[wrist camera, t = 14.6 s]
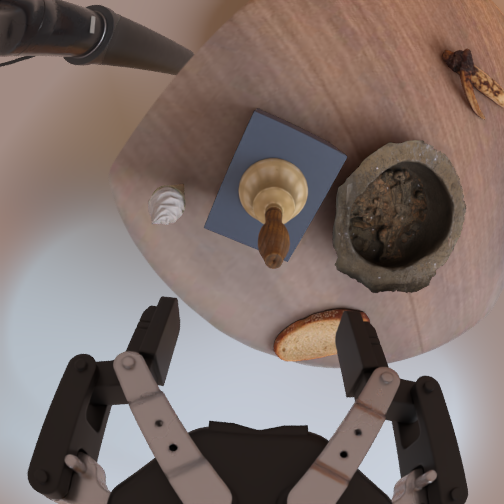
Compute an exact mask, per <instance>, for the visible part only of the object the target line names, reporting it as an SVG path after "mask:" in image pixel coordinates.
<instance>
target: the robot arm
mask: <svg viewBox="0 0 504 504" xmlns="http://www.w3.org/2000/svg"><path fill="white" fill-rule="evenodd" d="M106 33H107V20H106V18H105V16H104V15H103V14H102V13H100V12H98V11H94V10H90V9H88V8H85V7H82V6H78V5H75V4H72V3H69V2H65V1H62V0H0V57H9V56H24V57H21V58H18V59H15V60H12V61H9V62H5V63H1V64H0V67H1V66H5V65H9V64H13V63H16V62H19V61H22V60H25V59H29V58H32V57H35V56H59V57H72V58H84V57H87V56H89V55H91V54H92V53H93V52H95V51H96V50H97V49H98V48H99V46H100V45H101V44H102V42H103V40H104V38H105V36H106ZM179 330H180V317H179V308H178V300H177V298H172V297H161V298H160V300H159V303H158V305H157V306H149V307H148V309H146V310H145V311H144V312H143V314H142V316H141V318H140V322H139V323H138V325H137V328H136V329H135V332H134V334H133V336H132V338H131V341H130V343H129V345H128V348H127V350H126V352H123V353H121V354H119V355H118V356H117V357H116V358H115V360H112V361H101V362H96V361H95V360H94V358H93V357H91V356H90V355H88V354H79V355H76V356H75V357H74V358H72V359H71V360H70V362H69V363H68V365H67V368H66V370H65V372H64V374H63V377H62V379H61V381H60V384H59V386H58V389H57V391H56V393H55V395H54V398H53V400H52V403H51V405H50V408H49V410H48V413H47V416H46V418H45V421H44V424H43V426H42V429H41V432H40V435H39V438H38V441H37V443H36V447H35V450H34V453H33V456H32V459H31V462H30V466H29V469H28V480H29V483H30V485H31V486H32V488H33V489H34V490H36V491H37V492H39V493H41V494H43V495H44V496H46V497H47V498H49V499H50V500H52V501H54V502H56V503H58V504H464V503H465V502H466V499H467V497H468V488H467V483H466V478H465V473H464V469H463V464H462V460H461V456H460V451H459V447H458V443H457V440H456V436H455V432H454V429H453V425H452V422H451V419H450V415H449V412H448V409H447V406H446V403H445V399H444V396H443V393H442V390H441V388H440V385H439V383H438V382H437V381H436V380H435V379H434V378H432V377H429V376H422V377H420V378H419V379H418V380H417V381H416V382H413V381H408V380H403V379H400V378H399V376H398V374H397V373H396V372H395V371H394V370H392V369H391V368H389V367H388V364H387V361H386V358H385V355H384V353H383V350H382V347H381V345H380V341H379V339H378V336H377V333H376V331H375V328H374V327H373V326H372V325H371V324H370V323H369V322H368V321H363V318H362V315H361V313H360V311H344V312H343V314H342V317H341V320H340V323H339V326H338V329H337V332H336V336H335V344H336V349H337V354H338V358H339V363H340V368H341V372H342V376H343V382H344V387H345V392H346V397H354V398H355V403H354V404H353V406H352V408H351V409H350V411H349V412H348V414H347V415H346V417H345V418H344V420H343V421H342V423H341V425H340V426H339V427H338V429H337V430H336V432H335V433H334V434H333V436H332V437H331V439H330V440H329V441H328V440H327V439H325V438H324V437H322V436H320V435H317V434H315V433H312V432H308V426H307V425H305V426H280V427H275V428H269V429H264V430H256V429H252V428H248V427H245V426H242V425H238V424H235V423H226V422H216V421H209V427H203V428H198V429H195V430H193V431H190V432H187V431H186V429H185V428H184V426H183V425H182V423H181V422H180V420H179V418H178V416H177V415H176V414H175V411H174V410H173V408H172V407H171V405H170V403H169V401H168V400H167V398H166V396H165V394H164V393H163V392H162V391H160V389H159V387H158V385H161V386H164V383H165V380H166V376H167V373H168V369H169V365H170V362H171V359H172V355H173V351H174V348H175V345H176V341H177V338H178V335H179ZM119 404H129V406H130V409H131V411H132V413H133V415H134V417H135V419H136V421H137V423H138V425H139V427H140V430H141V431H142V433H143V435H144V437H145V439H146V441H147V443H148V445H149V447H150V449H151V450H152V452H153V454H154V456H155V458H154V459H153V460H152V461H150V462H149V463H148V464H146V465H145V466H144V467H142V468H141V469H139V470H138V471H137V472H136V473H134V474H133V475H131V476H130V477H128V478H127V479H126V480H124V481H123V482H121V483H120V484H119V485H117V486H116V487H115V488H114V489H113V490H112V492H110V491H109V490H108V488H107V486H106V475H105V472H104V470H103V468H102V467H101V466H100V465H99V464H98V463H97V459H98V455H99V451H100V447H101V443H102V439H103V435H104V432H105V428H106V424H107V420H108V417H109V413H110V410H111V406H112V405H119ZM385 420H390V421H392V425H393V430H394V436H395V441H396V447H397V454H398V460H399V467H400V474H401V479H400V480H399V481H398V482H397V483H396V485H395V487H394V495H393V498H392V500H391V499H390V498H389V497H388V496H387V495H386V494H385V493H384V492H383V491H382V490H381V489H379V488H378V487H377V486H376V485H375V484H374V483H373V482H372V481H371V480H369V479H368V478H367V477H366V476H365V475H364V474H363V473H362V472H361V471H360V470H359V469H358V467H359V465H360V464H361V462H362V461H363V459H364V457H365V456H366V454H367V452H368V450H369V449H370V447H371V445H372V443H373V442H374V440H375V438H376V436H377V434H378V432H379V431H380V429H381V427H382V425H383V423H384V421H385Z"/></svg>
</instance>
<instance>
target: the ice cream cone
mask: <svg viewBox="0 0 504 504" xmlns="http://www.w3.org/2000/svg"><path fill="white" fill-rule="evenodd" d="M148 209H149V213H150V216H151V219H152V224H156V223H157V224H160V223H161V224H166V225H168V224H169V222H170V223H175V221H176V220H177V219H178V218H179V217H181V216H182V213H183V212H184V209H185V199H184V184H179V185H171V186H161V187H159V188H157V189H156V190H155V191H154V193H153V194H152V197H151V199H150V200H149V202H148Z"/></svg>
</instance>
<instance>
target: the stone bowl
mask: <svg viewBox="0 0 504 504" xmlns="http://www.w3.org/2000/svg"><path fill="white" fill-rule="evenodd" d="M463 199H464V195H463V189H462V186H461V184H460V179H459V177H458V175H457V174H456V171H455V169H454V167H453V165H452V163H451V162H450V160H449V159H448V158H447V156H446V155H445V154H443V153H441V152H440V151H438V152H437V150H435V149H434V148H433V146H431V145H428V144H426V143H424V141H419V140H411V141H406V142H403V143H398V144H395V143H391V142H390V143H388V144H386V145H384V146H383V147H381V148H380V149H378V150H377V151H375V152H374V153H373V154H371V155H369V156H368V157H367V158H366V159H365V160H364V161H363V162H362V163H361V165H360V166H359V167H358V168H357V169H356V170H355V171H354V172H353V173H352V174H351V175H350V177H348V178H347V179H346V182H345V183H344V184H343V185H341V186H339V187H338V192H337V197H336V215H335V222H334V226H333V246H334V249H335V251H336V252H337V255H338V259H337V261H336V263H335V266H336V267H337V270H338V271H340V272H342V273H344V274H347V275H348V276H349V277H350V278H354V279H356V280H357V282H360V283H362V284H363V285H364V286H366V287H367V288H369V289H370V291H371V292H373V293H378V292H380V291H381V292H384V291H392V292H394V291H396V290H397V291H401V292H406V293H408V292H411V293H412V292H417V291H419V290H421V289H422V288H424V287H427V286H428V285H429V283H430V280H431V278H432V277H433V276H435V275H436V269H438V268H439V267H440V266H443V265H444V264H445V263H446V262H447V260H448V258H449V256H450V254H451V252H452V250H453V249H454V246H455V244H456V242H457V240H458V238H459V237H460V234H461V230H462V225H463V222H464V215H465V212H466V204H465V201H464V200H463Z"/></svg>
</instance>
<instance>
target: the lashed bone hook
mask: <svg viewBox="0 0 504 504" xmlns="http://www.w3.org/2000/svg"><path fill="white" fill-rule="evenodd" d="M443 60H444V61H445V62H446V64H447V65H448V67H450V68H451V69H452V70H453V71H454V72H456V73H458V74H460V79H461V84H462V87H463V90H464V93H465V95H466V98H467V100H468V102H469V104H470V106H471V107H472V109H473V111H474V112H475V113H476V114H477V115H478V116H479V117H480V118H482V119H484V120H485V119H486V118H485V117H484V115H483V113H482V111H481V110H480V108H479V105H478V103H477V100H476V98H475V94H474V91H473V86H475V87H476V88H477V89H478V90H479V91H480V92H482V93H483V94H484V95H485V96H487V97H489V98H490V99H492V100H493V101H494V102H495V103H497V104H498V105H500V106H501V107H503V108H504V89H503V88H502V87H501V86H500V85H499V84H498V83H497V82H495V81H494V80H493V79H492V78H490V77H489V76H488V75H487V74H486V73H485V72H483V71H482V70H480V69H479V68H477V67H476V66H475V65H474V63H473V59H472V54H471V51H470V50H469V49H465V50H464V51H462V50H459V51H456V52H454V53H453V52H451V51H448V50H445V52H444V53H443Z"/></svg>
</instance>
